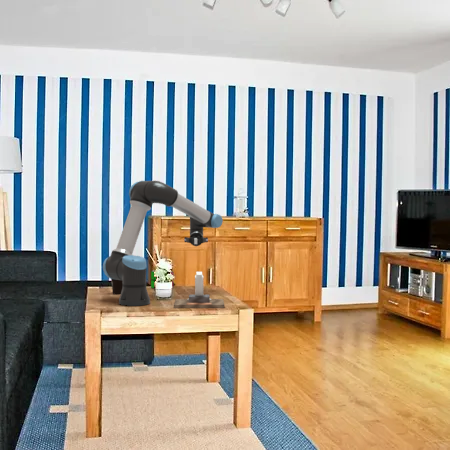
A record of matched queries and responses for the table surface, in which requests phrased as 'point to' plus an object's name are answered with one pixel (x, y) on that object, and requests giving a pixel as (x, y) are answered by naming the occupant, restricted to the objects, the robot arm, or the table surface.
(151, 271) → the puzzle cube
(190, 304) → the switch base
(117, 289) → the coffee mug
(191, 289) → the table surface
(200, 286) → the switch lever
